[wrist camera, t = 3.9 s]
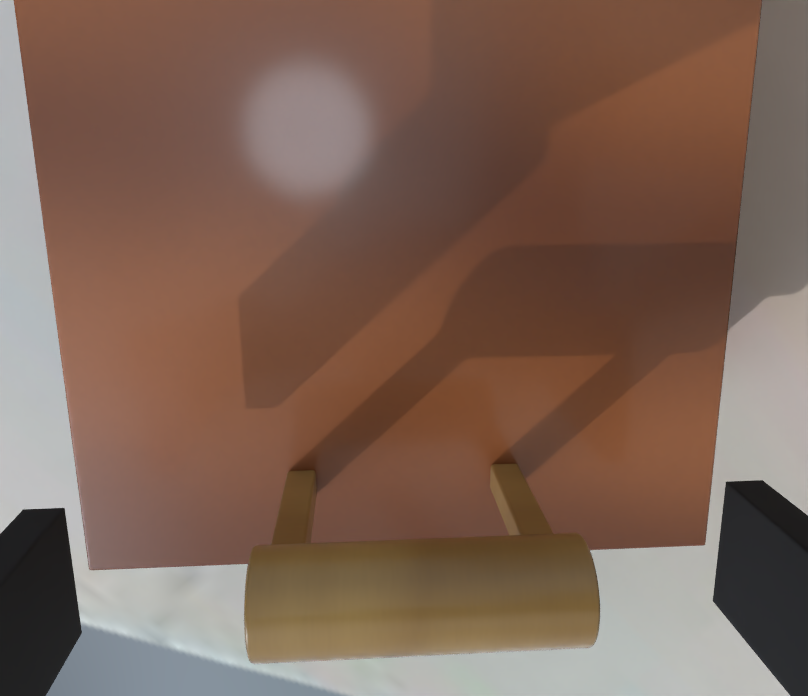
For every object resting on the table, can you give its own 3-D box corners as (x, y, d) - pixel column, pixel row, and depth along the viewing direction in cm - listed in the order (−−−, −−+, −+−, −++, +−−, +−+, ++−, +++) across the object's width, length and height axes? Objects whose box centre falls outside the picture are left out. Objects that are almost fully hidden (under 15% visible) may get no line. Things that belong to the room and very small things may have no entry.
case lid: (692, 531, 20) (858, 715, 13) (99, 554, 19) (-40, 764, 12) (773, -278, 15) (1091, -617, 9) (-9, -298, 14) (-328, -694, 8)
